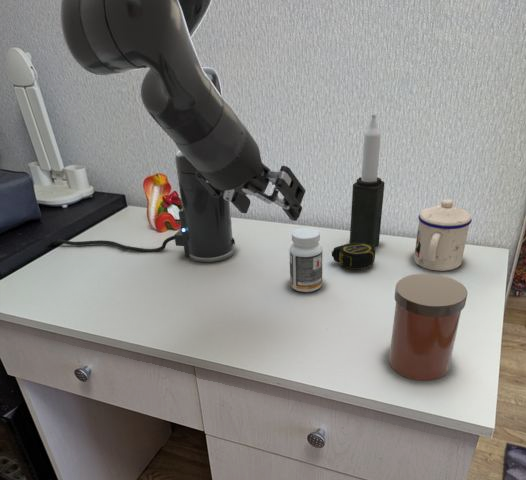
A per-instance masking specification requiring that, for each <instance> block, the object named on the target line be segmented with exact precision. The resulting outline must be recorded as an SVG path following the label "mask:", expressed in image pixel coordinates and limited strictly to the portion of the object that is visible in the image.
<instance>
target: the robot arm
mask: <svg viewBox="0 0 526 480" xmlns="http://www.w3.org/2000/svg"><path fill="white" fill-rule="evenodd" d="M212 1H213V0H61V3H60V27H61V31H62V36H63V39H64V42H65V45H66V47H67V49H68V51H69V53H70V55H71V56H72V58H73V59H74V61H75V62H76V63H77V64H78V65H79V66H80V67H81V68H83V69H84V70H85V71H87V72H89V73H91V74H94V75H98V76H113V75H120V74H123V73H128V72H131V71H137V70H138V71H139V70H142V69H147V68H149V69H148V70H147V72H146V73H145V74H144V76H143V79H142V82H141V83H140V90H139V91H140V99H141V103H142V105H143V107H144V108H145V110H146V112H147V113H148V114H149V115H150V117H151V118H152V119H153V120H154V121H155V122H156V124H158V126H159V127H160V128H161V130H163V131H164V132H165V134H167V136H168V137H169V138H170V139H171V140H172V141H173V142H174V144H175V146H176V147H177V149H179V150H178V151H177V152H176V153H175V157H174V160H175V166H176V175H177V181H178V188H179V194H180V202H181V209H180V210H179V211H178V217H179V224H180V229H179V230H178V231H177V232H176V233H174V235H172V236H169V237H167V238H165V240H163V242H162V245H161V246H159V247H157V248H142V247H137V246H129V245H124V244H121V243H118V242H115V241H112V240H102V239H101V240H99V239H98V240H85V241H83V240H82V241H71V240H66V239H62V238H61V239H60V238H57V239H58V240H57V242H50V241H49V242H48V243H47V244H46V247H52V245H54V244H56V243H58V244H64V245H70V246H87V245H88V246H90V245H109V246H113V247H117V248H119V249H122V250H126V251H134V252H140V253H159V252H161V251H163V250H165V248H166V247H167V244H168V243H169V242H171V241H175V246H177V247H183V250H184V258H189V259H191V260H193V261H195V262H199V263H215V262H220V261H225V260H226V259H228V258H230V257H232V256H233V255H234V254H235V246H236V242H235V238H234V237H233V228H232V218H231V217H232V216H231V204H232V205H233V206H234V207H235V208H236V209H237V210H238V211H239V212H240V213H241V214H247V213H248V211H249V208H250V206H251V199H250V198H249V197H248V196H254V197H255V198H258V199H259V200H260V201H262V202H264V203H266V204H268V205H270V204H272V203H273V204H275V205H276V206H278V207H280V208H281V209H282V210H283V212H284V214H286V216H287V217H288V218H289V220H290V221H292V222H296V221H297V220H298V219H300V216H301V213H302V211H303V206H302V202H303V199H304V196H305V194H306V189H305V187H304V186H303V185H302V183H301V182H300V180H299V179H298V177H296V174H294V172H293V171H292V170H291V168H290V167H288V166H287V165H281V166H280V169H279V170H278V171H273V170H271V168H269V167H268V166H267V165H265V164H264V163H263V161H262V157H261V152H260V151H261V150H260V147H259V145H258V143H257V141H256V140H255V139H254V138H253V136H252V134H251V133H250V131H249V130H248V129H247V127H246V126H245V124H244V123H243V122H242V120H241V118H240V117H239V116H238V114H237V112H236V111H235V110H234V108H233V107H232V106H231V104H229V102H228V101H227V100H226V99H225V98H224V97H223V90H222V83H221V79H220V76H219V73H218V72H217V70H216V69H215V68H213V67H211V66H203V67H202V64H201V62H200V59H199V56H198V54H197V50H196V48H195V45H194V43H193V41H192V38H193V37H194V35H195V33H196V32H197V30H198V28H199V27H200V26H201V24H202V22H203V21H204V19H205V17H206V15H207V13H208V12H209V9H210V7H211V4H212ZM269 183H271V188H270V191H269V193H268V194H267V193H265V192H266V190H267V188H268V186H269ZM279 193H280V194H281V195H282V197H283V198H280V197H279ZM247 195H248V196H247Z"/></svg>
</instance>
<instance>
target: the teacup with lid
mask: <svg viewBox="0 0 526 480" xmlns="http://www.w3.org/2000/svg"><path fill="white" fill-rule="evenodd" d="M472 221H473V220H472V215H471V213H470V212H469V211H467V210H465V209H463V208H459V207H458V206H456V205H455V204H454V201H453V200H452V199H449V198H446V199H445V198H444V199H442V200H441V202H440V204H437V205H434V206H429V207H426V208H424V209H422V210H421V211H420V213H419V215H418V227H417V232H416V233H417V234H416V241H415V248H414V255H413V260H414V262H415V263H416V265H418V266H419V267H421V268H424V269H427V270H431V271H437V272H439V271H442V272H443V271H452V270H454V269H457V268H459V267H460V266H461V265H462V262H463V258H464V253H465V248H466V243H467V238H468V233H469V228H470V224H471V223H472Z"/></svg>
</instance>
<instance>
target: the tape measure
mask: <svg viewBox="0 0 526 480" xmlns="http://www.w3.org/2000/svg"><path fill="white" fill-rule="evenodd" d="M331 257H332V258H333V261H334V262H336V263H339V264H340V265H341V266H342V267H344V268H346V269H348V270H349V269H350V270H364V269H367V268H370V267H372V266H373V265H374V263H375V260H376V248H374V247H373V246H372V245H371V244H367V243H364V242H354V243H350V242H349V243H346V244H342V245H339V246H335V247H334V248H333V249H332V250H331Z"/></svg>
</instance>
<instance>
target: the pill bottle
mask: <svg viewBox="0 0 526 480" xmlns="http://www.w3.org/2000/svg"><path fill="white" fill-rule="evenodd" d="M320 240H321V232H320V231H319V230H318V229H316V228H311V227H302V228H297V229H294V230H293V231H292V233H291V241H292V244H291V245H290V247H289V251H288V253H289V281H290V282H289V283H290V286H291V288H292V290H295V291H297V292H301V293H311V292H314V291H317V290H319V289H320V288H321V287H322V286H323V246H322V245H321V243H319V242H320Z"/></svg>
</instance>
